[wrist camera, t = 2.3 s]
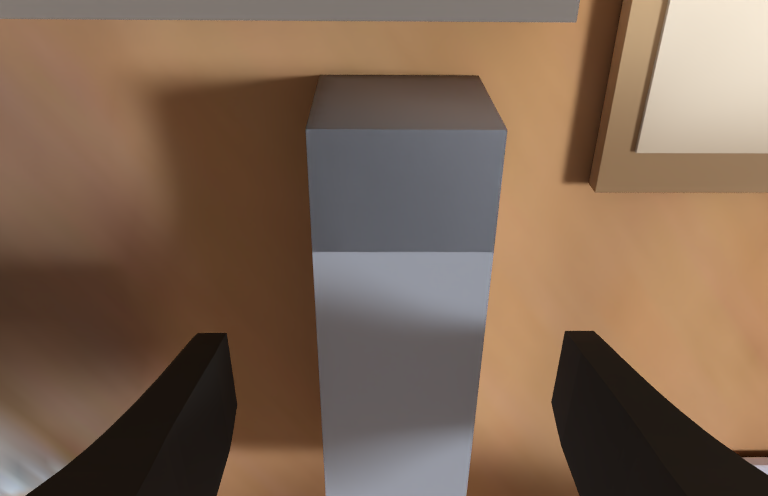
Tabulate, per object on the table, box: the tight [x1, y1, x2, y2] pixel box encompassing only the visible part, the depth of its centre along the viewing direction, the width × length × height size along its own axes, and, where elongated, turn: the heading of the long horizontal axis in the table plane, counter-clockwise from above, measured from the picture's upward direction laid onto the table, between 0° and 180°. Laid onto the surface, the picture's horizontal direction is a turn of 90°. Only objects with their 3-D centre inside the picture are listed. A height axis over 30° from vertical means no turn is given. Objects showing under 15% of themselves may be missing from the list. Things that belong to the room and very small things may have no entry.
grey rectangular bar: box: [306, 75, 507, 496], centre depth 15 cm, size 11×3×3 cm, turn 0°
